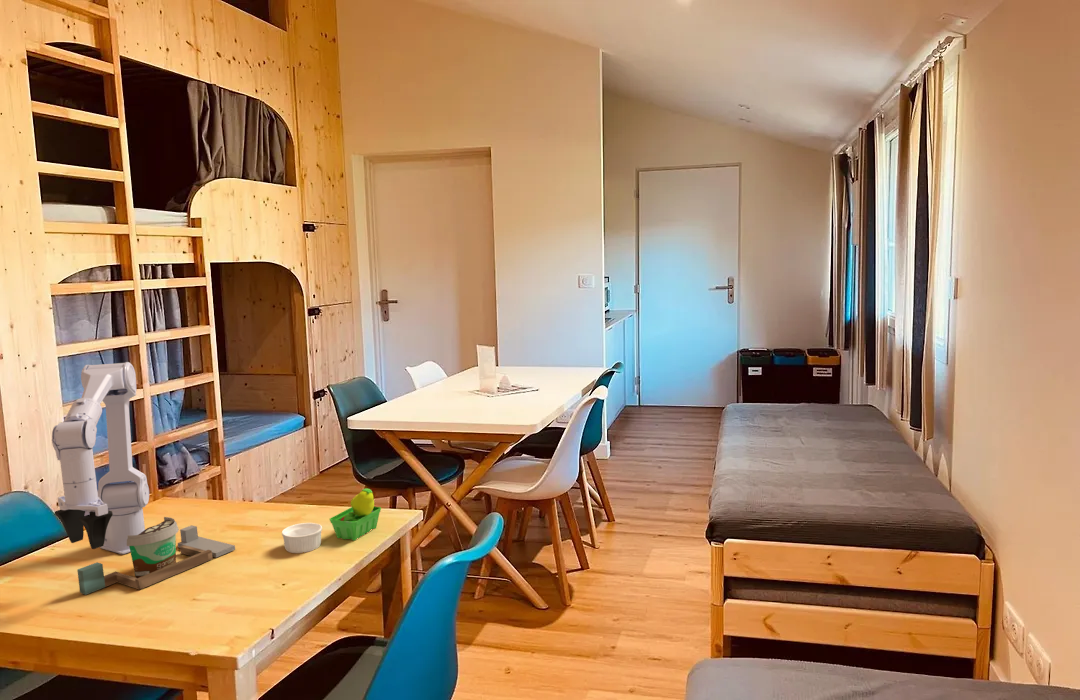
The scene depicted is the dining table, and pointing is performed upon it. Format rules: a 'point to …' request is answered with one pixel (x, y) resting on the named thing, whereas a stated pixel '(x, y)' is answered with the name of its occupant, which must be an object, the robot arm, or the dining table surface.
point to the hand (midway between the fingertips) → (87, 544)
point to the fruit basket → (357, 517)
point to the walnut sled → (94, 577)
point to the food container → (154, 547)
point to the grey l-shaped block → (203, 542)
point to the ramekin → (302, 537)
